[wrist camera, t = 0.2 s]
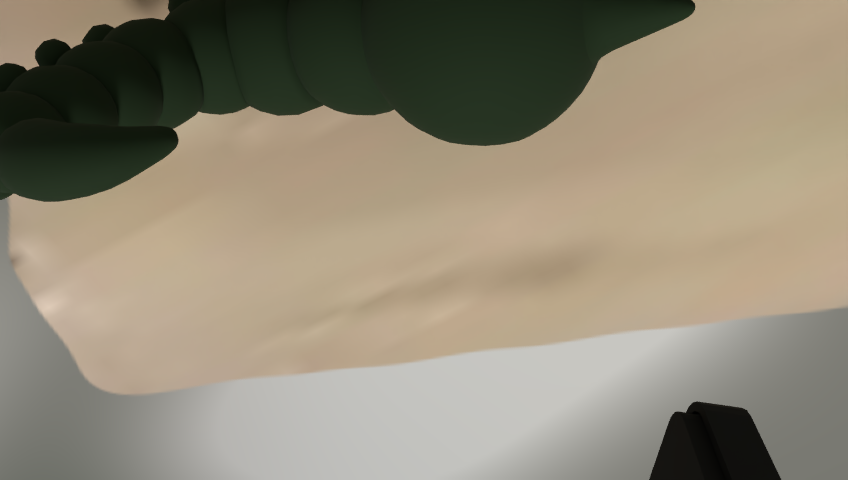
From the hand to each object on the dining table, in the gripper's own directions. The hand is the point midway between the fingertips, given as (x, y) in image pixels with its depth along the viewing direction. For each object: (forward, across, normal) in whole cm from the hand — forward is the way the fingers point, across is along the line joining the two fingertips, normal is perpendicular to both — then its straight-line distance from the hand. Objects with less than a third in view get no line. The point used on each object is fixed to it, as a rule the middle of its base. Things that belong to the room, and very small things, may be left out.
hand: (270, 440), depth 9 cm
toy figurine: (+31, +2, +1) cm, 31 cm away
